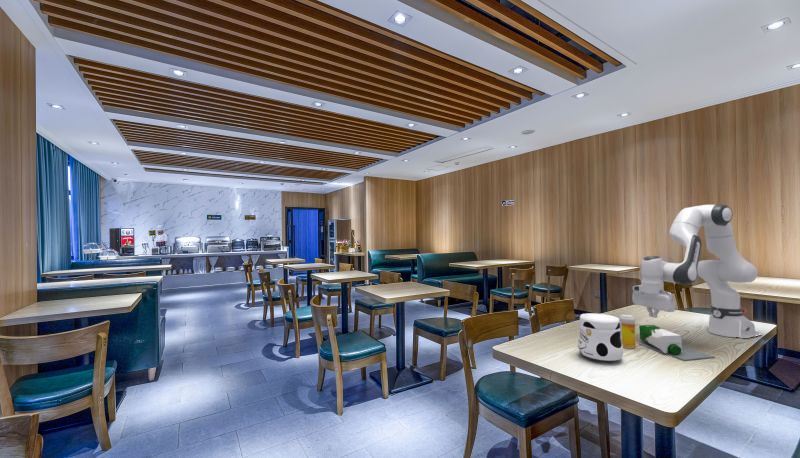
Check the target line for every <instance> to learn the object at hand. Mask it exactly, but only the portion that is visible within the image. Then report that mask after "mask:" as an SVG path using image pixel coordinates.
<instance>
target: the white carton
mask: <svg viewBox="0 0 800 458" xmlns="http://www.w3.org/2000/svg"><path fill="white" fill-rule="evenodd" d="M638 327H639V339H640V341H642V342H643V343H649V344H651V345H653V346H655V347H657V348H659V349H660V350H662V351H663V352H664V353H671V354H675V355H679V354H680V353H682V346H683V343H682V342H683V341H682V335H681V334H677V333H675V332H672V331H669V330H667V329H664V328H662V327H660V326H657V325H655V324H644V325H640V324H639V326H638Z"/></svg>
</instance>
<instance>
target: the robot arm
mask: <svg viewBox="0 0 800 458" xmlns="http://www.w3.org/2000/svg"><path fill="white" fill-rule="evenodd" d="M733 213H734V212H733V211H732V208H731V207H730V206H729V205H727V204H722V203H716V204H701V205H695V206H687V207H684V208H682V209H681V210H680V211H679V212H678V214H677V215H676V217H675V219H674V220H673V221H672V224H671V226H670V229H669V237H670V238H671V240H672V241H673V242H674V243H677V244H679V245H681V246H684V247H685V254H684V257H683V261H682V262H680V263H678V262H677V263H676V262H667V261H665V260H663V259H662V257H661V256H659V255H649V256H645V257H643V258H642V260H641V266H640V274H641V278H642V279H641V284H639V285H633V286H632V290H633V292H632V302H633V304H634V305H637V306H642V307H646V310H647V312H648V316H649V317H650V318H658V314H659V313H660V311H662V312H663V311H664V312H667V313H673V312H675V311H676V303H675V299H674V295H673V294H672V293H671V292H670V291H665V289H664V288H665V287H664V286H665V285H664V282H666V283H673V284H679V285H683V286H690V285H692V284H693V283H695V282H696V280H697V279H698V277H699V278H701V279H702V280H703V281H704V282H705V283H706V285H707V286H708V289H709V291H710V297H711V305H710V308H709V309H710V313H711V314H710V315H709V319H708V326H706V330H708V332H709V333H711V334H714V335H717V336H722V337H728V338H736V337H739V338H738V339H743V338H749V337H753V336H756V335H759V334H762V333H761V332H759V331H756V326H755V324H754V322H753V321H751V320H750V319H748V317H746V316H745V315H744V313H746V314H747V312H748V309H747V308H741V295H740V293H739V292H738V291H737V290H735V289H734V288H732V287H731V286H730V284H729V283H728V282H730V283H738V284H743V283H744V284H745V283H752V282H754V281H755V280H756V279H757V277H758V276H759V275H758V273H759V271H758V268H757V267H756V266H755V265H754V264H752V263H751V262H749V261H748V260H746V259H745V258H744V257H743V256H742V255H741V253H740V252H739V250H738V249H737V246H736V242H735V236H734V230H733V226H732V224H731V221H732V219H733V216H734V215H733ZM701 227H704V237H705V244H706V249H707V251H708V252H709V253H710V254H712V255H714V256H715V257H717V258H718V260H717V259H706V260H705V259H704V260H703V259H702V260H700V257H701V252H702V251H701V250H702V239H701V237H700V236H699V231H700V229H701ZM699 260H700V261H699ZM749 339H750V338H749Z"/></svg>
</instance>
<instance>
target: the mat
mask: <svg viewBox="0 0 800 458" xmlns="http://www.w3.org/2000/svg"><path fill="white" fill-rule="evenodd" d="M638 345H639V346H642V347H644V348H647V349H650V350H653V351H655V352H658V353H661V354H663V355H667V356H669V357H672V358H675V359H677V360H680V361H682V362H690V361H698V360H707V359H708V360H709V359H715V357H716V356H714V355H711V354H708V353H705V352H702V351H699V350H695V349H692V348H691V347H687V346H683V345H682V353H680V354H679V355H675V354H671V353H664V352H663V351H662V350H660V349H659V348H657V347H655V346H653V345H651V344H649V343H647V342H640V343H639V344H638Z"/></svg>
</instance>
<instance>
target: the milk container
mask: <svg viewBox="0 0 800 458" xmlns="http://www.w3.org/2000/svg"><path fill="white" fill-rule="evenodd" d="M577 348H578V352H579V353H580V354H581V355H582V357H585V358H586V359H589V360H593V361H596V362H604V363H614V362H619V361H621V360H622V359H623V356H624V347H623V346H622V343H621V338H620V317H617V316H614V315H611V314H605V313H593V312H592V313H590V312H589V313H582V314H580V315H579V338H578V342H577Z"/></svg>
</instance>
